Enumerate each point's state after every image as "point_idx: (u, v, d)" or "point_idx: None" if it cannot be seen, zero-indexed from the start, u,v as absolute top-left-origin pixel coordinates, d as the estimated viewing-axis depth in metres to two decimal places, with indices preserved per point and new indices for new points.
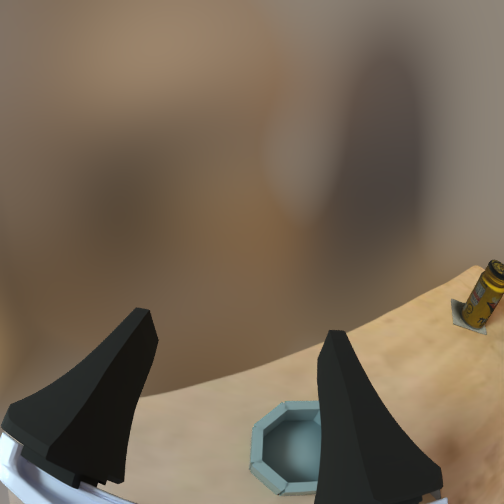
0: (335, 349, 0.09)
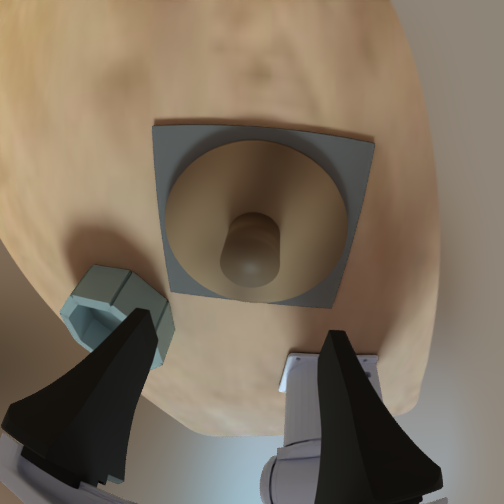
0: (335, 349, 0.09)
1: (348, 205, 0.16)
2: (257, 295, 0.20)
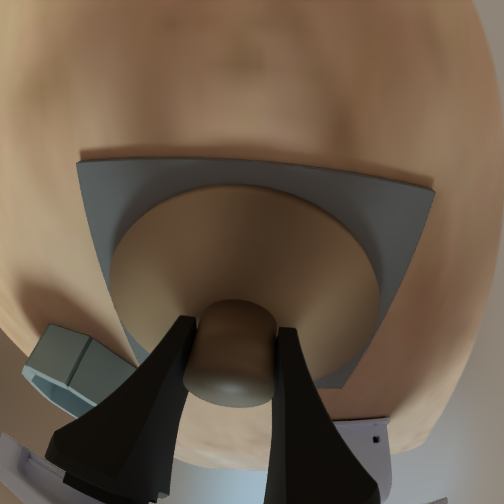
0: (280, 346, 0.09)
1: (382, 282, 0.10)
2: None
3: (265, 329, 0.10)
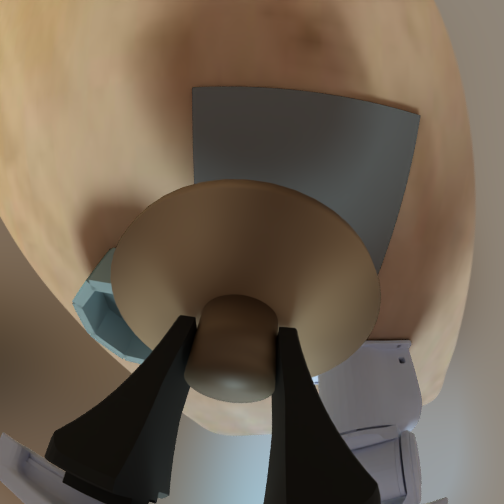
0: (280, 346, 0.09)
1: (395, 176, 0.15)
2: None
3: (266, 324, 0.10)
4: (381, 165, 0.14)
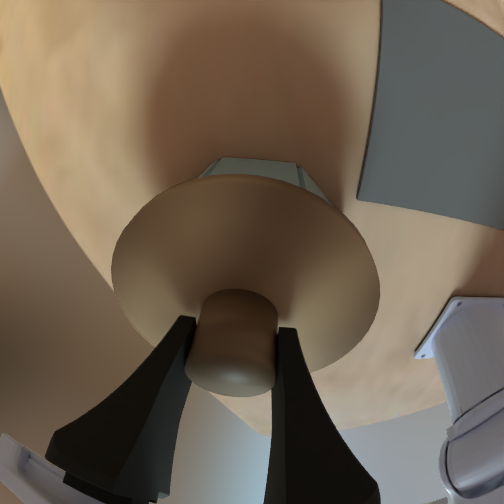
0: (280, 346, 0.09)
1: None
2: None
3: (268, 319, 0.10)
4: None
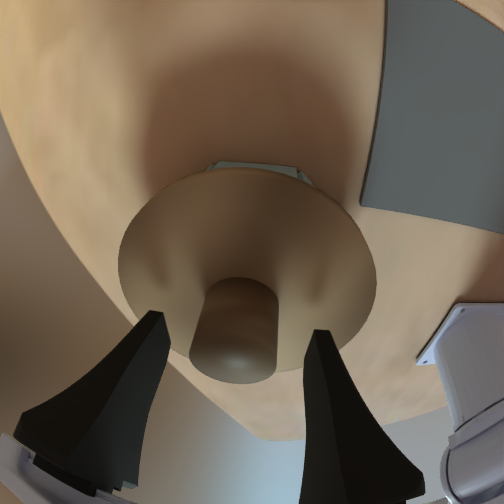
0: (318, 348, 0.09)
1: None
2: None
3: (269, 306, 0.10)
4: None
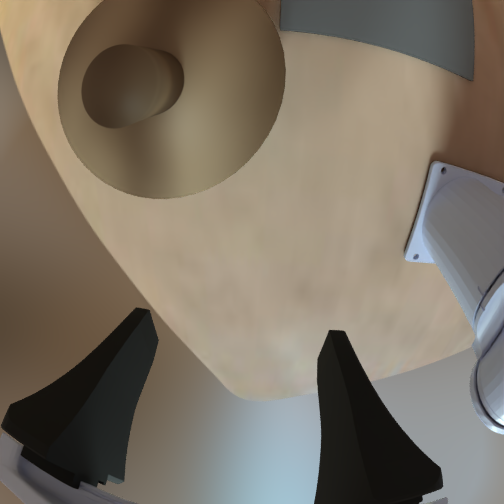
0: (335, 349, 0.09)
1: None
2: (161, 185, 0.13)
3: (166, 55, 0.08)
4: None
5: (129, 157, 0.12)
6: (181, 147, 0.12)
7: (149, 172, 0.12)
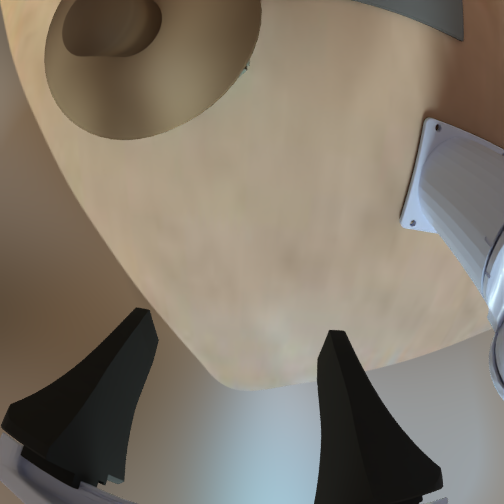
0: (335, 349, 0.09)
1: None
2: (133, 125, 0.11)
3: None
4: None
5: (104, 99, 0.10)
6: (155, 84, 0.10)
7: (123, 112, 0.11)
